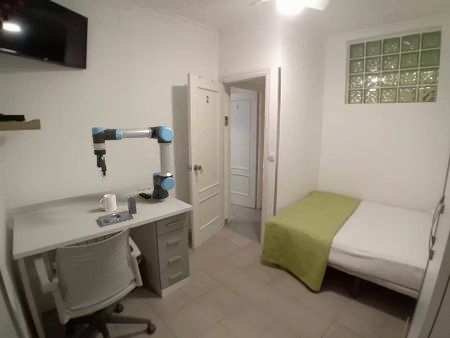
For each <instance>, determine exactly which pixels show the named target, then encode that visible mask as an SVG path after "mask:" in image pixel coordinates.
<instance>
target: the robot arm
mask: <svg viewBox="0 0 450 338" xmlns="http://www.w3.org/2000/svg"><path fill="white" fill-rule="evenodd" d="M174 136H175V135H174V131H173V129H172V128H170V127H169V126H161V125H159V126H149V127H147V128H106V129H104V127H103V126H93V127H92V128H91V138H92V147H93V149H94V150H93V153H94V154H93V155H94V156H96V168H97V175H98V177H101V179H102V181H107V180H108V178H107V171H108V170H107V164H106V160H105V158H106V157H105V155H106V154H107V151H106V148H107V146H106V141H121V140H123V139H136V138H137V139H141V138H142V139H143V138H144V139H145V138H147V139H153V140H157V141H156V142H157V144H158V145H159V160H160V162H159V163H160V164H159V165H160V171H158V172H157V171H156V172H154V173H153V174H152V182H153V183H152V185H153V189H152V193H151V198H153V199H155V200H162V199H166V198H168V197H169V196H170V195H169V194H170V193H169V191H170V190H172V189H173V188H174V187H175V185H176V180H175V179H174V175H173V172H172V169H171V168H172V165H171V161H172V160H171V144H172V143H173V142H172V141H173V139H174Z"/></svg>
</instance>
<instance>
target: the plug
mask: <svg viewBox="0 0 450 338" xmlns="http://www.w3.org/2000/svg"><path fill="white" fill-rule="evenodd" d="M136 203H137V202H136V197H134V196H133V195H129V197H128V198H127V209H128V210H127V211H128V212H129V213H130V214H131V215H132V216H133V215H135V214H137V204H136Z"/></svg>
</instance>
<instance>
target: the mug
mask: <svg viewBox="0 0 450 338" xmlns="http://www.w3.org/2000/svg"><path fill="white" fill-rule="evenodd" d="M116 197H117V196H116V194H115V193H107V194H104V195H103V197H102V198H101V199H100V200H99V203H101V202H102V201H103V200H104V201H103V202H104V205H101V204H99V206H100V207H101V208H103V209H104V211H105V212H108V213H109V212H111V213H112V212H115V211H117V209H118V207H117V199H116Z"/></svg>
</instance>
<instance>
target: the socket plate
mask: <svg viewBox="0 0 450 338" xmlns="http://www.w3.org/2000/svg"><path fill="white" fill-rule="evenodd" d="M131 219H132V220H134V216H133V214H132V215H131V214H130V213H129V211H128V210H123V211H119V212H114V213H109V214H105V215H100V216H97V220H98V221H99V223H100V225H101V226H102V227H104V228H105V227H107V226H112V225H115V224H119V223H122V222H128V221H130V220H131ZM127 220H128V221H127Z"/></svg>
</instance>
